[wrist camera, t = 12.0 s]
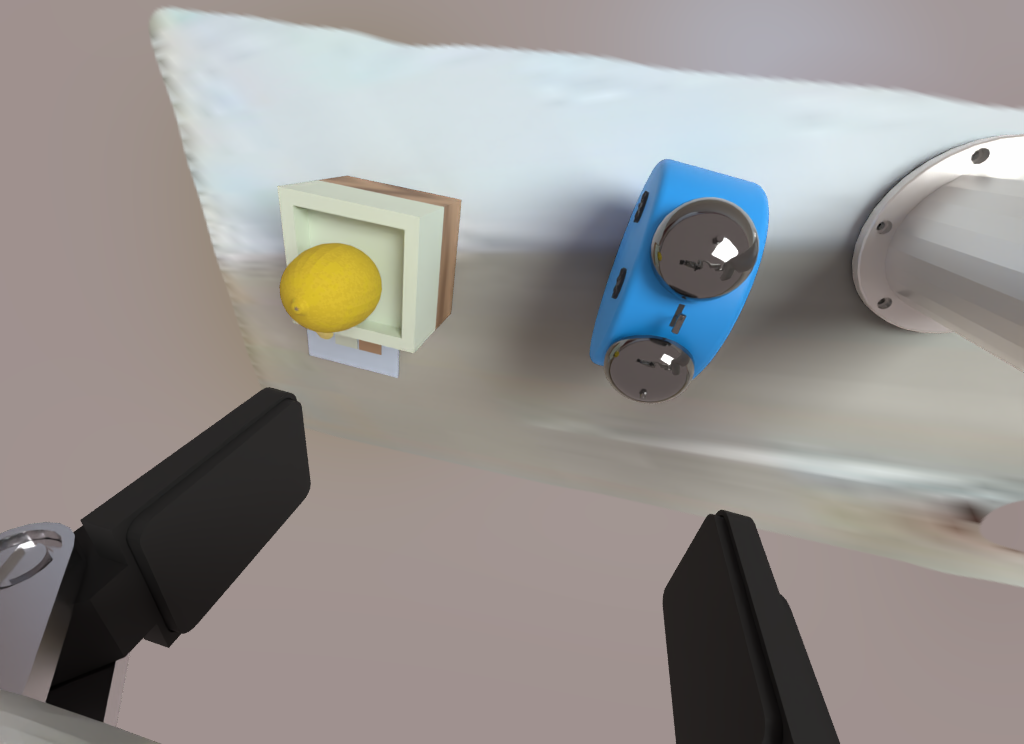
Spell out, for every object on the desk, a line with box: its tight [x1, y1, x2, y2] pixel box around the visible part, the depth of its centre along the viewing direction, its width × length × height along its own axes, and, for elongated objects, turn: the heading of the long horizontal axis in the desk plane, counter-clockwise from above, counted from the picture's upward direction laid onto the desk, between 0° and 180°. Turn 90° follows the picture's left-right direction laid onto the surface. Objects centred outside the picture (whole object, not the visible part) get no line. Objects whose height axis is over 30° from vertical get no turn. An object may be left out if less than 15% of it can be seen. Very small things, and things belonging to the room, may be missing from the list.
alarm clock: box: [590, 159, 769, 404], centre depth 27 cm, size 13×6×15 cm, turn 166°
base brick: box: [320, 176, 461, 330], centre depth 36 cm, size 10×10×4 cm
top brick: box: [277, 180, 444, 353], centre depth 32 cm, size 10×10×4 cm
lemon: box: [280, 243, 382, 333], centre depth 28 cm, size 6×6×8 cm
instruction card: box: [307, 329, 399, 378], centre depth 43 cm, size 10×7×1 cm
